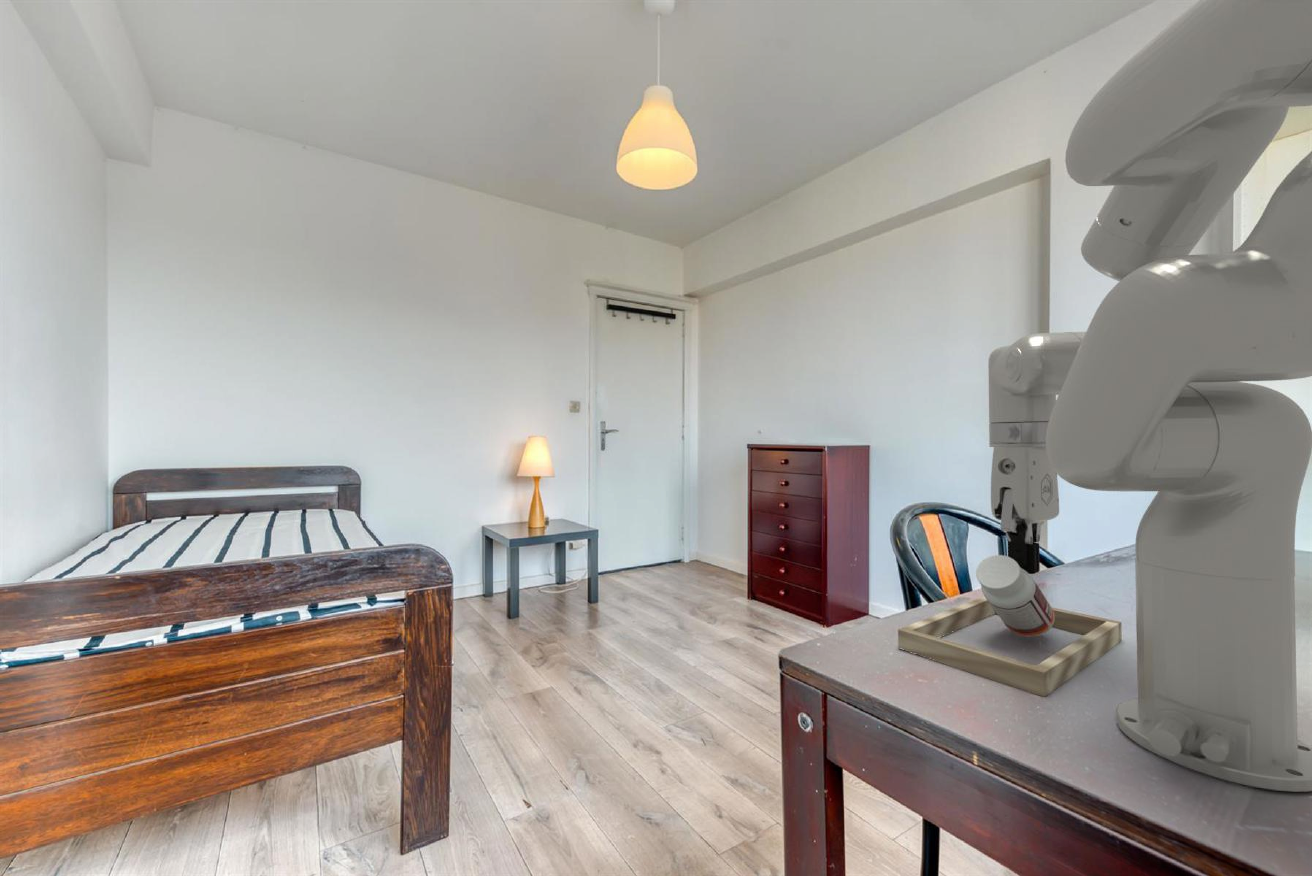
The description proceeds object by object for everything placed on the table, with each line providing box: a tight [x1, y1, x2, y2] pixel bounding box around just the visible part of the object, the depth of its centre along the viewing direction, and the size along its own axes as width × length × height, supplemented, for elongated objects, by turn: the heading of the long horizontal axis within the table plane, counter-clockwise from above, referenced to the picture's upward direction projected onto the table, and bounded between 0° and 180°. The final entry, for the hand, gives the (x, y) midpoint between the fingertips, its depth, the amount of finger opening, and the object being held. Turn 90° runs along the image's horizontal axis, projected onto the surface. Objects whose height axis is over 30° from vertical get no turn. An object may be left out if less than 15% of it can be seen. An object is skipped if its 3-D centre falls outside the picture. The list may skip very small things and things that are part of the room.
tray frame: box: [897, 595, 1123, 698], centre depth 69 cm, size 26×16×2 cm, turn 125°
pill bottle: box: [975, 554, 1055, 638], centre depth 71 cm, size 6×6×11 cm
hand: (1023, 571), depth 72 cm, fingers closed
